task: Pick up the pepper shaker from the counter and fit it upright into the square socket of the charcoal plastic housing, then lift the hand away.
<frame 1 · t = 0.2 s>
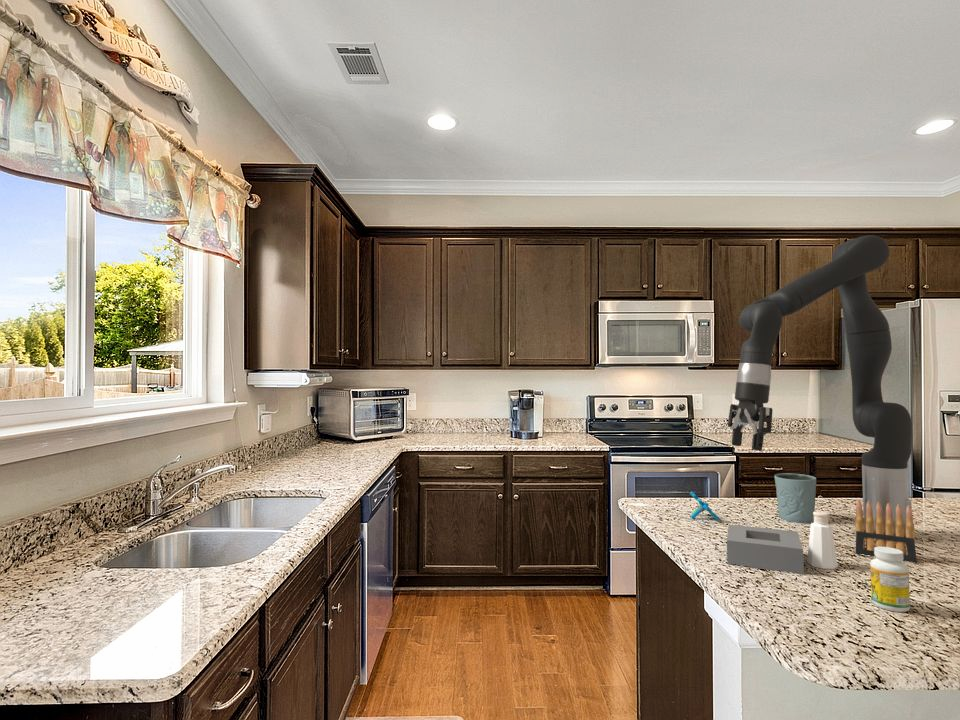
hand: (746, 447, 133), 22 cm above the countertop, tool pointing down, fingers open, 8 cm apart
supplement bottle: (890, 607, 93), on the countertop
housing: (763, 558, 117), on the countertop
ammunition clip: (885, 558, 118), on the countertop
blue cup: (796, 520, 150), on the countertop
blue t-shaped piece: (704, 519, 151), on the countertop
pepper shaker: (822, 566, 113), on the countertop
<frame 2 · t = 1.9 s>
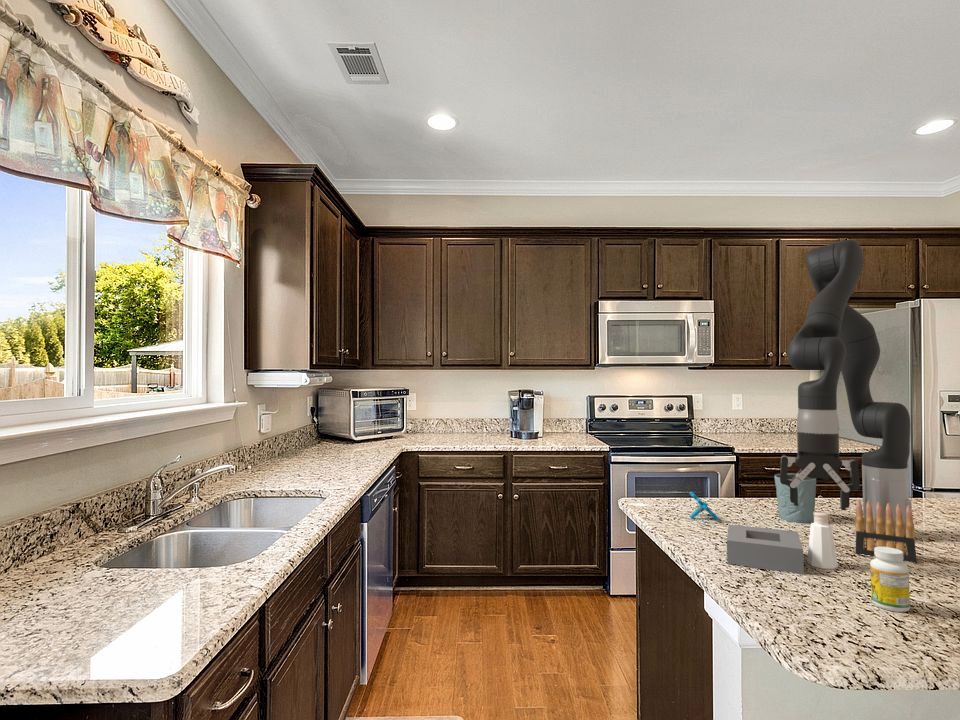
hand: (818, 507, 114), 12 cm above the countertop, tool pointing down, fingers open, 8 cm apart
nothing on the countertop moved.
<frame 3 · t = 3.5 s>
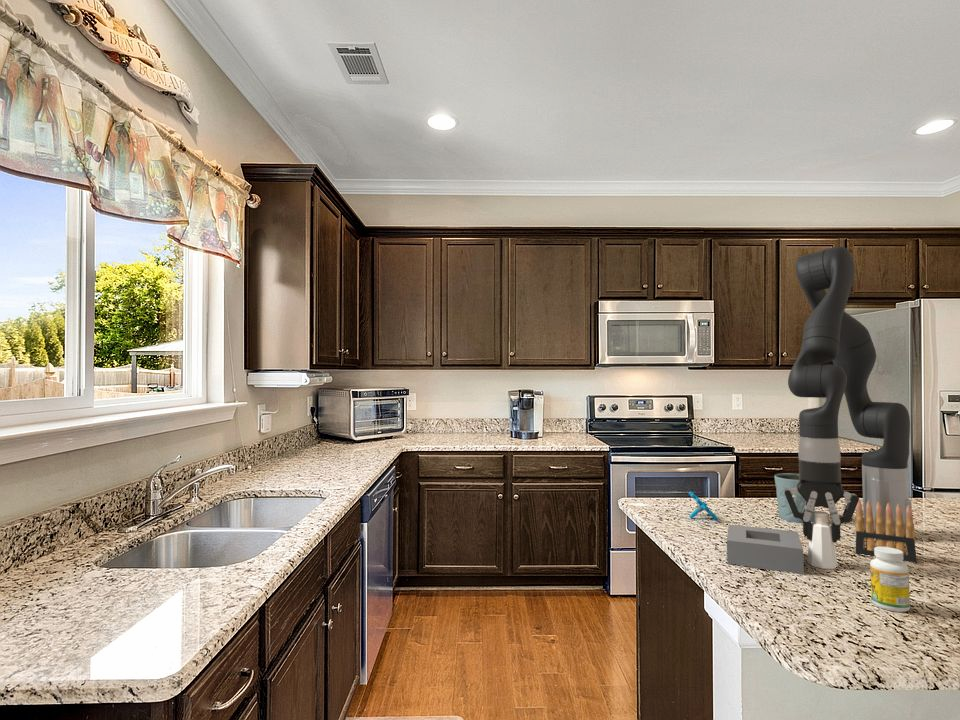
hand: (821, 539, 114), 5 cm above the countertop, tool pointing down, fingers closed on pepper shaker, 4 cm apart
pepper shaker: (822, 565, 113), on the countertop, touching gripper
everything else where it was.
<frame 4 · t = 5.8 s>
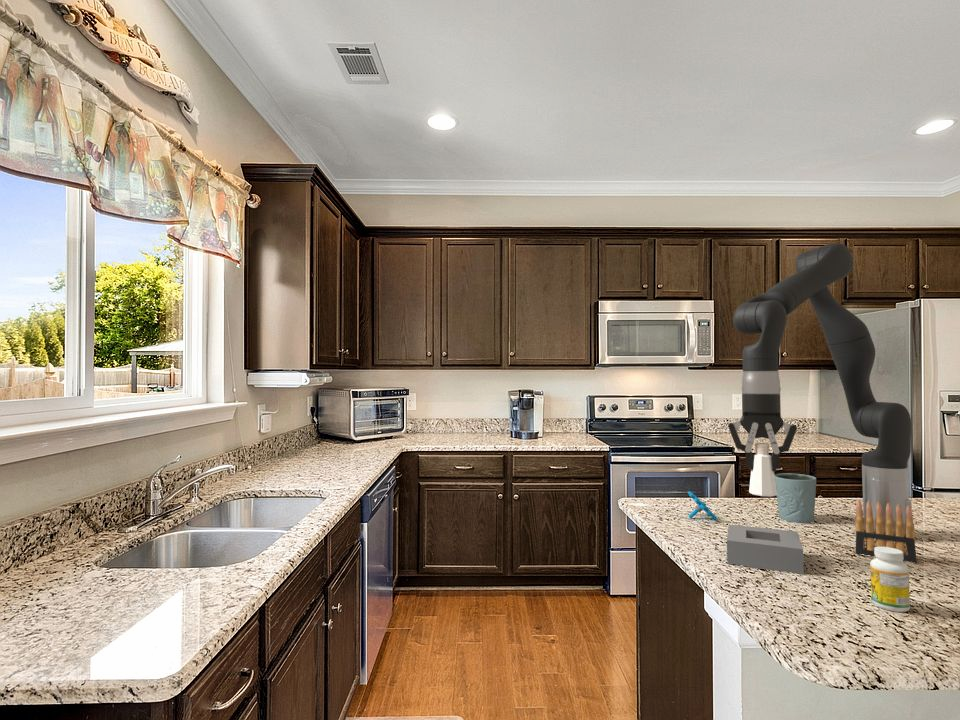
hand: (762, 469, 118), 19 cm above the countertop, tool pointing down, fingers closed on pepper shaker, 4 cm apart
pepper shaker: (762, 494, 118), point 14 cm above the countertop, touching gripper
everything else where it was.
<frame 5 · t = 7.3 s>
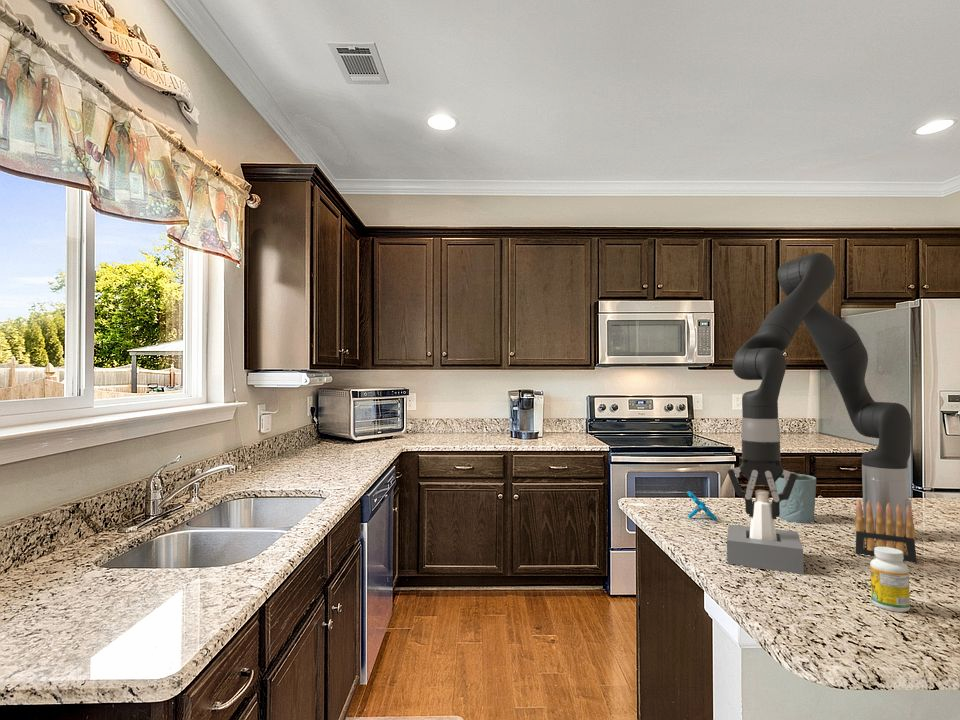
hand: (762, 516, 118), 9 cm above the countertop, tool pointing down, fingers closed on pepper shaker, 4 cm apart
pepper shaker: (763, 542, 118), point 4 cm above the countertop, touching gripper
everything else where it was.
when the fingers open (8 cm above the countertop, at t = 8.2 s): pepper shaker stays where it is, resting on housing.
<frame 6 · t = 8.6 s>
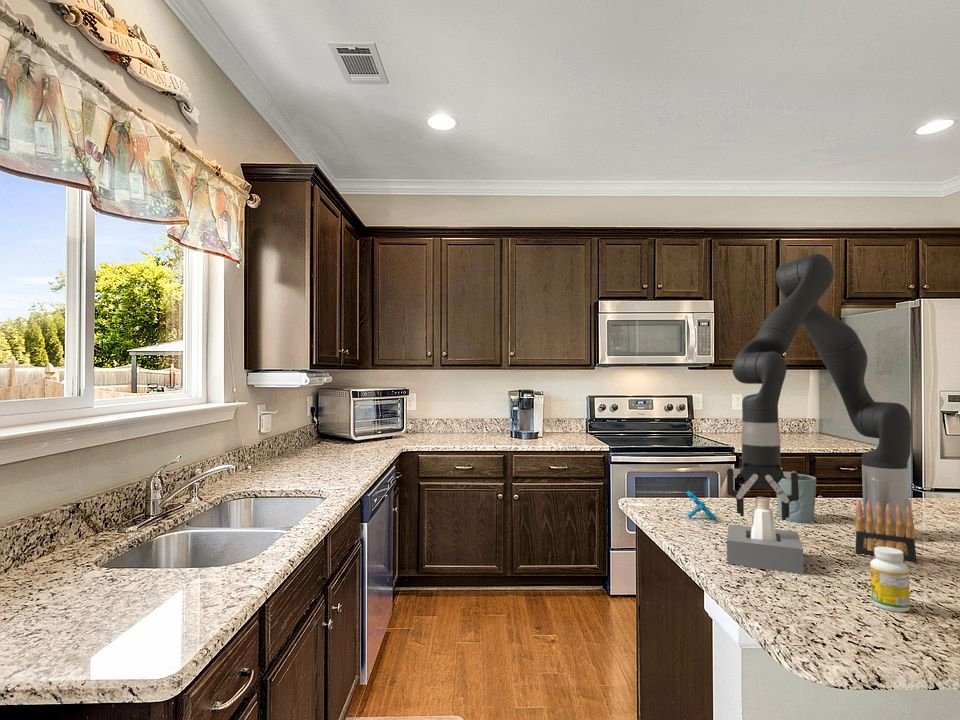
hand: (762, 517, 118), 9 cm above the countertop, tool pointing down, fingers open, 7 cm apart
pepper shaker: (763, 549, 117), point 2 cm above the countertop, touching housing
everything else where it was.
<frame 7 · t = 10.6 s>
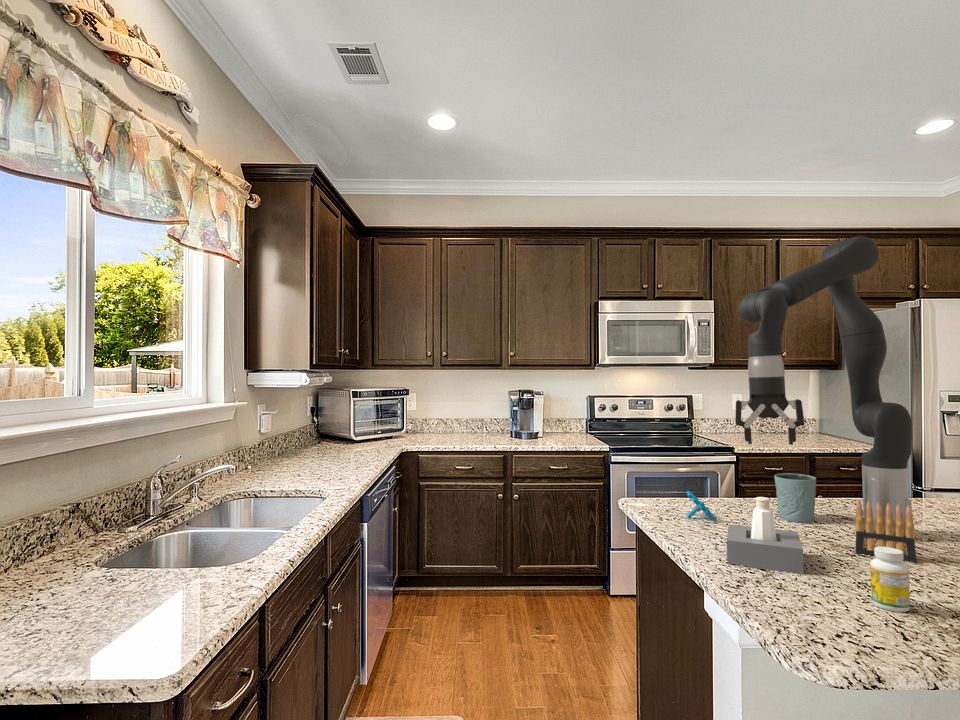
hand: (770, 443, 127), 24 cm above the countertop, tool pointing down, fingers open, 8 cm apart
nothing on the countertop moved.
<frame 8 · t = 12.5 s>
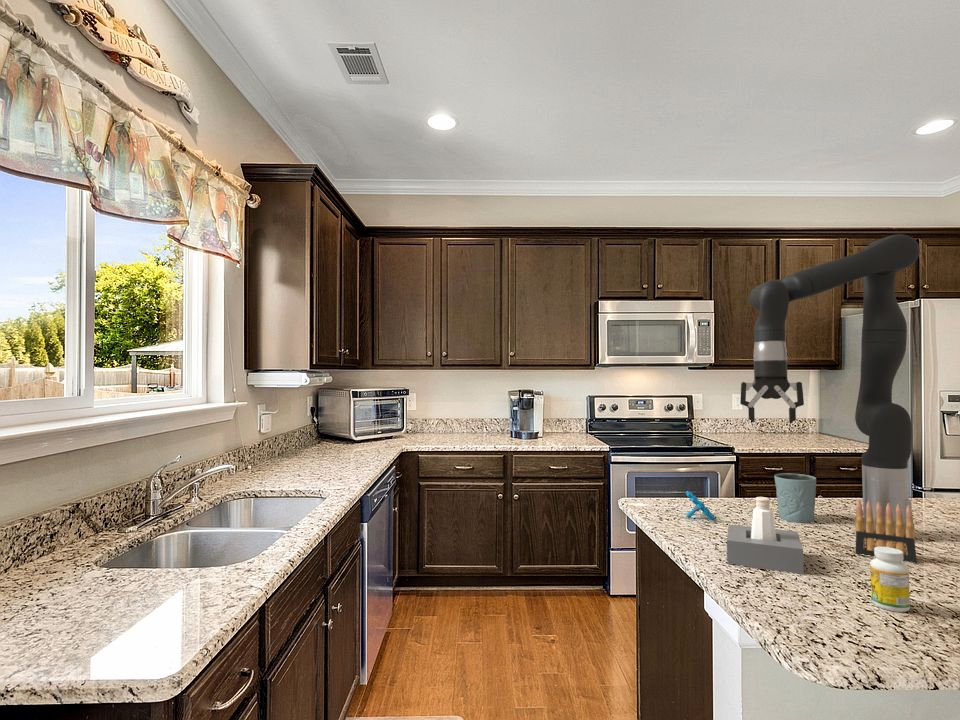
hand: (771, 422, 138), 28 cm above the countertop, tool pointing down, fingers open, 8 cm apart
at the end: pepper shaker 0.1 cm off-centre on the housing, point 2.0 cm above the housing's base; pepper shaker tilted 0°; the gripper is holding nothing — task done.
